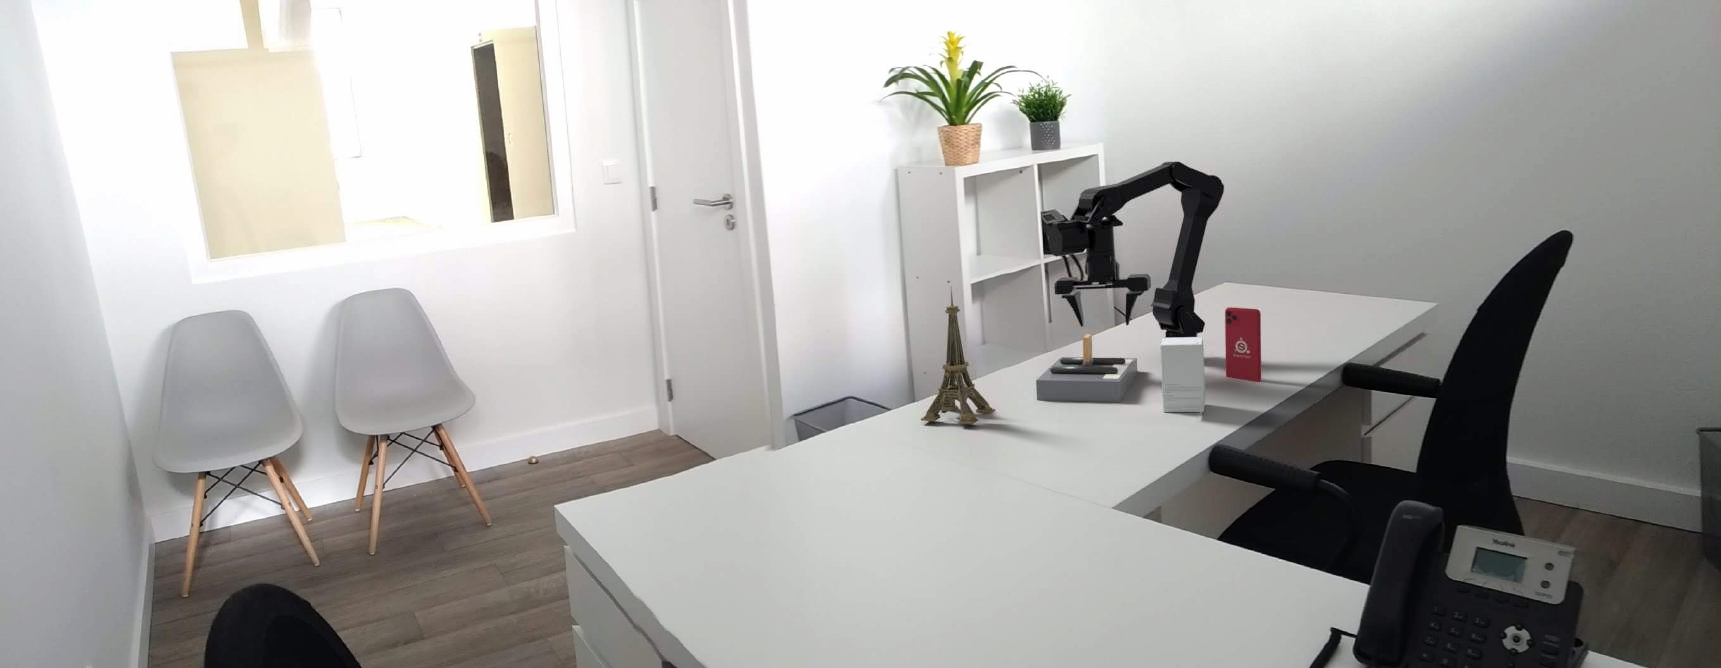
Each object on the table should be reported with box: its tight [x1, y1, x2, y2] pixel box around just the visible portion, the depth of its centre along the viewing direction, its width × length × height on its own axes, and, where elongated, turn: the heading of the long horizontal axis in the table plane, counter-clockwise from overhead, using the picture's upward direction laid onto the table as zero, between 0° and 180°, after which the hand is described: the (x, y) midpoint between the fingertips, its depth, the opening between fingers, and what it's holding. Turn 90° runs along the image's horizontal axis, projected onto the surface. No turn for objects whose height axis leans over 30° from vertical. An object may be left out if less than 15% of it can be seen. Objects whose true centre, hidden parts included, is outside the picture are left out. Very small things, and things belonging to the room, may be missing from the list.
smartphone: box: [1224, 306, 1262, 383], centre depth 212 cm, size 7×1×15 cm, turn 42°
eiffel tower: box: [920, 287, 996, 425], centre depth 202 cm, size 11×11×25 cm
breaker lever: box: [1082, 333, 1094, 367], centre depth 217 cm, size 2×4×6 cm, turn 157°
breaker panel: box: [1035, 356, 1138, 403], centre depth 218 cm, size 16×22×5 cm
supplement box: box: [1159, 336, 1206, 413], centre depth 197 cm, size 7×7×13 cm
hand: (1104, 325), depth 222 cm, fingers open, 9 cm apart
